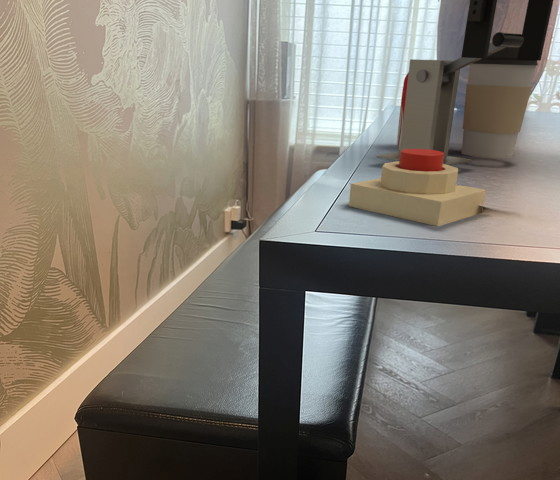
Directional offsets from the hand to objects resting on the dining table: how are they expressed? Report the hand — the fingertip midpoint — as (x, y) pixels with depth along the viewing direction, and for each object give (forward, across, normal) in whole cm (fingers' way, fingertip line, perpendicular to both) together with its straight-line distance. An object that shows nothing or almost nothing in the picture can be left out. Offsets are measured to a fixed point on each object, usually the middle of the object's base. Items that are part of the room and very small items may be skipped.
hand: (503, 59), depth 70 cm
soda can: (+13, -9, -15) cm, 22 cm away
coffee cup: (+13, -12, -6) cm, 19 cm away
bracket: (+13, 0, -9) cm, 16 cm away
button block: (+13, +23, +5) cm, 27 cm away
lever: (+1, 0, -4) cm, 4 cm away
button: (+10, +23, +5) cm, 25 cm away
